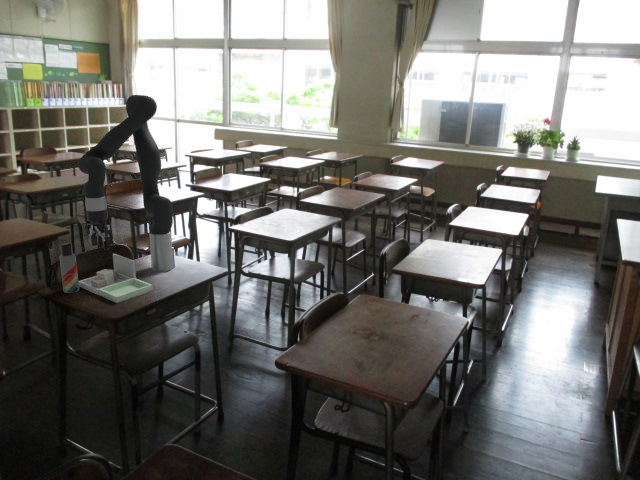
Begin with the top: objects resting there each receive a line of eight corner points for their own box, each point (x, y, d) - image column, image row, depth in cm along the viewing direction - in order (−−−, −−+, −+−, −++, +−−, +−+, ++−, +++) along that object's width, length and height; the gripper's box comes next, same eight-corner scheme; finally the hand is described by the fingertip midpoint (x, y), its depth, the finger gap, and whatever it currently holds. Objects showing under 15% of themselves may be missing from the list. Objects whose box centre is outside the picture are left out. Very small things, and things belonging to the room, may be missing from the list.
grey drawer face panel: (117, 275, 220) (115, 253, 217) (137, 283, 213) (135, 260, 210) (114, 276, 219) (112, 253, 216) (134, 284, 212) (132, 261, 209)
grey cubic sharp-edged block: (112, 278, 216) (111, 269, 215) (117, 280, 213) (117, 271, 212) (103, 280, 213) (102, 271, 211) (109, 283, 210) (108, 273, 209)
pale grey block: (100, 287, 206) (100, 277, 205) (107, 289, 204) (106, 280, 203) (92, 290, 203) (91, 280, 202) (98, 292, 201) (97, 283, 200)
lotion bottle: (75, 294, 200) (69, 245, 194) (60, 293, 200) (54, 245, 194) (82, 288, 205) (76, 241, 199) (68, 288, 205) (62, 240, 199)
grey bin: (113, 276, 219) (113, 270, 218) (133, 284, 211) (133, 278, 211) (78, 287, 207) (77, 281, 206) (98, 296, 199) (97, 290, 198)
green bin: (134, 284, 211) (134, 277, 210) (153, 291, 205) (152, 284, 204) (99, 296, 199) (98, 289, 198) (117, 304, 192) (116, 297, 191)
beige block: (106, 282, 211) (104, 269, 209) (114, 284, 209) (113, 270, 207) (97, 286, 207) (96, 272, 205) (105, 288, 205) (104, 274, 203)
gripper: (116, 209, 197) (120, 248, 202) (95, 203, 205) (99, 241, 210) (98, 212, 192) (102, 253, 196) (77, 206, 199) (82, 246, 204)
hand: (100, 247), depth 203 cm, fingers open, 8 cm apart
